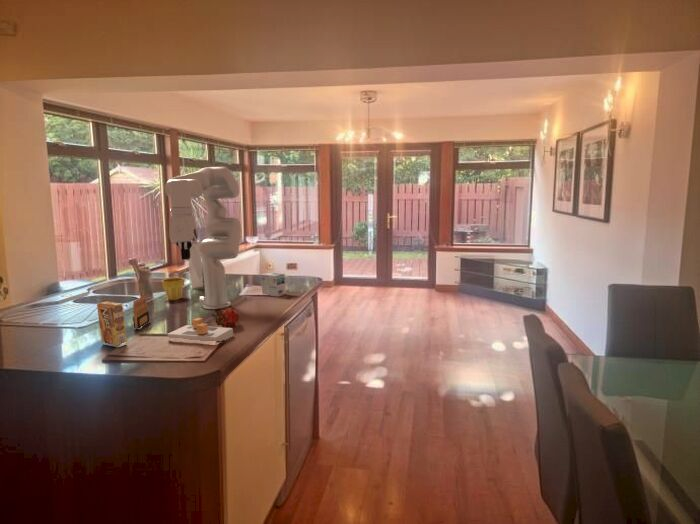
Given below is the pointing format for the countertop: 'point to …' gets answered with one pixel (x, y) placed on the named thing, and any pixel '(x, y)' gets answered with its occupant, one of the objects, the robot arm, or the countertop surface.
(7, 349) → the countertop surface
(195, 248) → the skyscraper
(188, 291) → the countertop surface
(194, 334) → the switch panel
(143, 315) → the orange flat piece
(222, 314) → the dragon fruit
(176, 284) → the plant pot
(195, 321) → the switch tab
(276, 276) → the light bulb box
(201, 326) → the switch tab
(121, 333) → the candy box
